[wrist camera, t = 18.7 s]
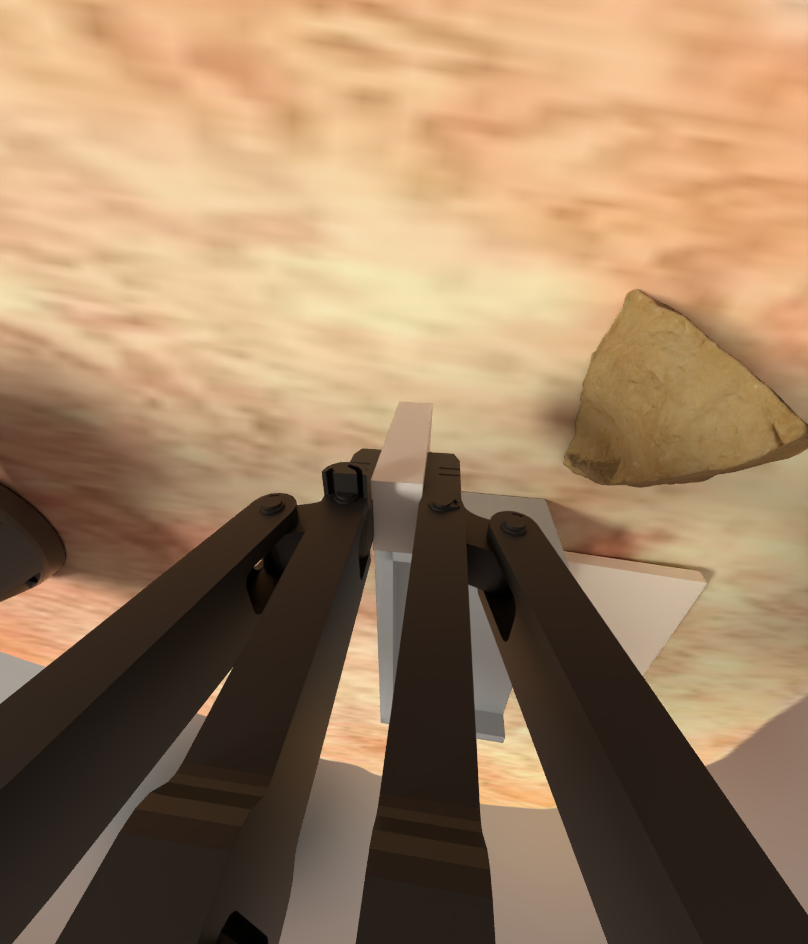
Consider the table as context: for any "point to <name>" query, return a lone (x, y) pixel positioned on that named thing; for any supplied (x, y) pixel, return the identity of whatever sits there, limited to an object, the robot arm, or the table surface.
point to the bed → (486, 657)
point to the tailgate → (637, 600)
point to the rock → (674, 406)
